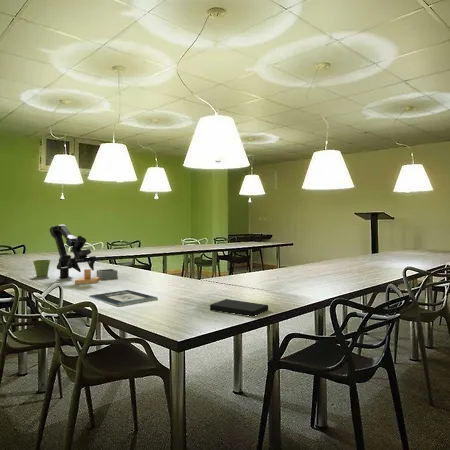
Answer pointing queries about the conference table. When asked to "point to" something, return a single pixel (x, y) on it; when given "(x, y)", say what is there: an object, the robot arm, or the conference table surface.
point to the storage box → (107, 274)
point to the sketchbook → (123, 297)
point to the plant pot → (41, 267)
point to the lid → (87, 278)
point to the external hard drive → (239, 307)
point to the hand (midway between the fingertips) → (86, 271)
